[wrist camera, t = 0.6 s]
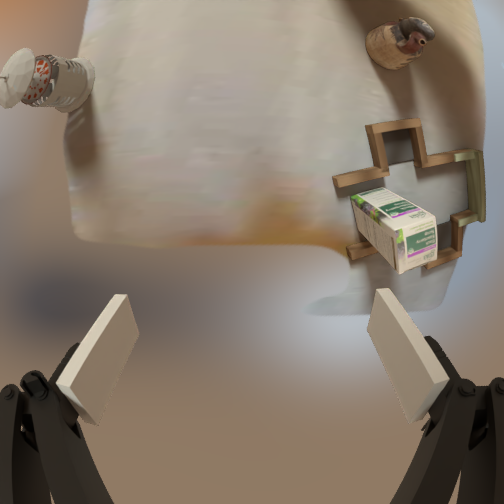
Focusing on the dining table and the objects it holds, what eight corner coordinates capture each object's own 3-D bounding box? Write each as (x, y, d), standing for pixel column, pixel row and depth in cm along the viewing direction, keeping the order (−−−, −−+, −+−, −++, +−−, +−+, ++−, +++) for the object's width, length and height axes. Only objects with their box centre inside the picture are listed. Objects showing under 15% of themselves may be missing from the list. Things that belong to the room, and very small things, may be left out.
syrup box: (382, 185, 37) (437, 213, 24) (389, 221, 39) (439, 261, 26) (349, 195, 38) (393, 228, 25) (357, 231, 40) (399, 277, 27)
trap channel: (352, 285, 44) (359, 298, 40) (321, 134, 34) (328, 134, 31) (471, 243, 41) (483, 252, 37) (462, 113, 31) (477, 114, 27)
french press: (82, 118, 33) (-49, 131, 10) (38, 106, 31) (-76, 119, 8) (104, 60, 29) (-17, 27, 6) (56, 54, 27) (-53, 38, 4)
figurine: (411, 49, 28) (455, 32, 17) (395, 79, 30) (441, 67, 19) (374, 22, 26) (411, -6, 15) (356, 50, 29) (393, 25, 18)
